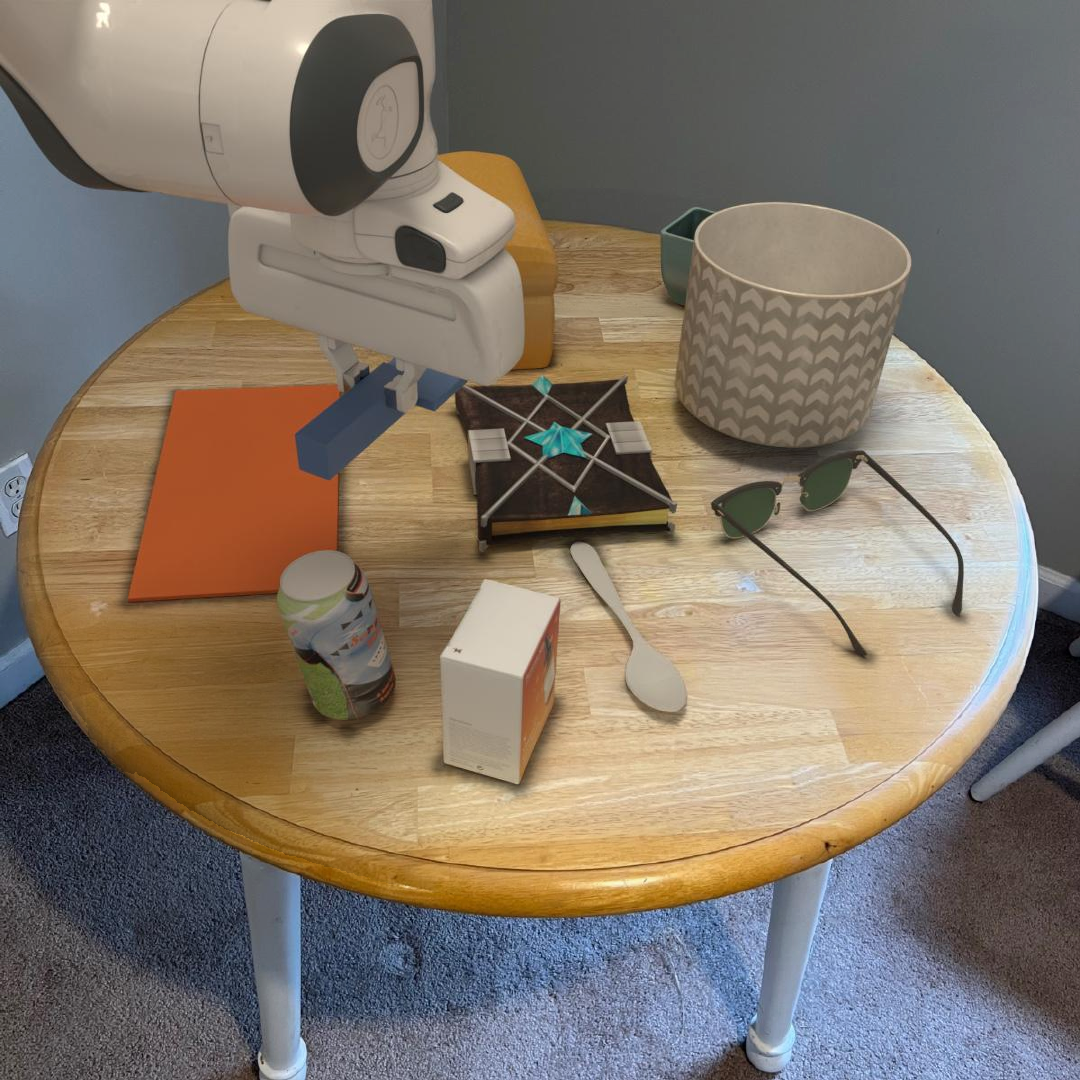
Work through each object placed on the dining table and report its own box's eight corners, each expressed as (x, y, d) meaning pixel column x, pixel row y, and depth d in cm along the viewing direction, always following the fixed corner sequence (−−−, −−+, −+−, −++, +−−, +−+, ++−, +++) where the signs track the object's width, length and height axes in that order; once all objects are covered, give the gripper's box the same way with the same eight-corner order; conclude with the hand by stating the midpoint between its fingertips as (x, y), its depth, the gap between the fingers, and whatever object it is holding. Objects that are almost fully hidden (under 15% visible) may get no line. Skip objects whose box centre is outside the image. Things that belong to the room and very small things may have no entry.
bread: (555, 368, 114) (562, 232, 104) (432, 376, 112) (427, 238, 102) (518, 263, 132) (521, 139, 123) (411, 268, 130) (406, 142, 121)
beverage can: (391, 732, 76) (381, 607, 68) (285, 728, 76) (263, 603, 68) (401, 666, 81) (392, 542, 73) (301, 662, 81) (282, 538, 73)
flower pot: (752, 297, 128) (765, 224, 122) (720, 327, 122) (732, 252, 116) (684, 277, 131) (694, 205, 125) (650, 305, 125) (658, 231, 119)
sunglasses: (832, 672, 82) (847, 625, 79) (700, 542, 93) (708, 496, 90) (988, 603, 88) (1007, 557, 85) (847, 489, 100) (859, 444, 96)
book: (455, 413, 107) (454, 368, 104) (623, 404, 109) (627, 360, 106) (478, 554, 90) (478, 505, 87) (676, 540, 93) (683, 492, 89)
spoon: (646, 730, 77) (648, 715, 76) (553, 547, 92) (554, 532, 91) (699, 718, 78) (703, 702, 77) (600, 539, 93) (601, 524, 92)
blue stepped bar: (350, 489, 68) (347, 453, 67) (278, 462, 70) (273, 426, 68) (484, 366, 80) (485, 332, 78) (419, 345, 82) (418, 312, 80)
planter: (758, 497, 98) (796, 316, 87) (633, 397, 110) (651, 226, 99) (905, 437, 106) (958, 265, 95) (774, 350, 118) (806, 187, 107)
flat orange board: (336, 589, 87) (336, 585, 87) (128, 602, 85) (127, 598, 85) (340, 387, 110) (340, 384, 109) (176, 393, 108) (175, 390, 108)
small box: (519, 788, 73) (522, 680, 66) (441, 764, 74) (437, 656, 67) (556, 702, 79) (563, 595, 72) (483, 682, 80) (484, 575, 73)
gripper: (189, 180, 66) (224, 378, 75) (487, 260, 59) (486, 467, 68) (256, 147, 70) (281, 338, 79) (540, 218, 63) (532, 417, 72)
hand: (378, 398), depth 73 cm, fingers closed on blue stepped bar, 2 cm apart
